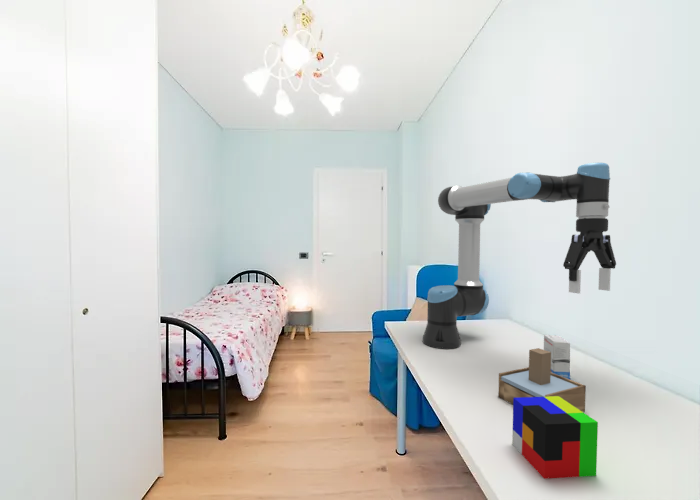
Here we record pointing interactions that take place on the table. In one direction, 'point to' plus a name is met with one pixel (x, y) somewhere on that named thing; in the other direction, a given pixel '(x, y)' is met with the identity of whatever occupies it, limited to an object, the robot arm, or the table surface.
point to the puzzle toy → (555, 437)
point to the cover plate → (535, 387)
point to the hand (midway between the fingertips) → (589, 291)
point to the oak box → (570, 395)
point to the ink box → (558, 354)
